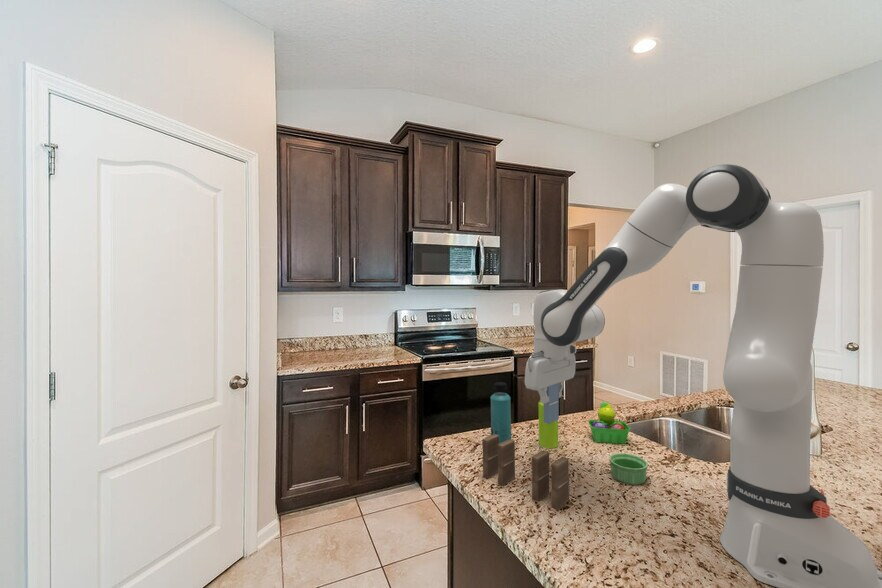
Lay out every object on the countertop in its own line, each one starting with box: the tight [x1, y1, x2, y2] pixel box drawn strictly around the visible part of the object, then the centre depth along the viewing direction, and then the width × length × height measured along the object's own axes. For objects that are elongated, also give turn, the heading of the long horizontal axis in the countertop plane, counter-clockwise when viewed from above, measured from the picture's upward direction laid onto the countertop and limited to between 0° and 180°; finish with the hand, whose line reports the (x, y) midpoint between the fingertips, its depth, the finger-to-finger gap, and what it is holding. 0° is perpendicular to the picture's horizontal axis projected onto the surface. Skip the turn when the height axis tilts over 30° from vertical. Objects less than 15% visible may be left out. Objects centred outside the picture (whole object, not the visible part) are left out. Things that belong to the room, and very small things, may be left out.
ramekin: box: [608, 452, 649, 485], centre depth 99 cm, size 9×9×4 cm
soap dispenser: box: [538, 400, 559, 449], centre depth 120 cm, size 6×7×20 cm
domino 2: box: [497, 438, 516, 487], centre depth 98 cm, size 2×5×10 cm, turn 133°
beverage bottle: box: [490, 381, 512, 444], centre depth 119 cm, size 6×7×20 cm
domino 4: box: [544, 383, 560, 424], centre depth 103 cm, size 2×5×10 cm, turn 133°
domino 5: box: [550, 456, 570, 512], centre depth 87 cm, size 2×5×10 cm, turn 134°
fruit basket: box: [587, 401, 631, 445], centre depth 124 cm, size 11×9×11 cm
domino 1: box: [482, 434, 499, 480], centre depth 101 cm, size 2×5×10 cm, turn 134°
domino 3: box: [531, 449, 551, 503], centre depth 91 cm, size 2×5×10 cm, turn 134°
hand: (551, 400), depth 103 cm, fingers closed on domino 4, 5 cm apart
